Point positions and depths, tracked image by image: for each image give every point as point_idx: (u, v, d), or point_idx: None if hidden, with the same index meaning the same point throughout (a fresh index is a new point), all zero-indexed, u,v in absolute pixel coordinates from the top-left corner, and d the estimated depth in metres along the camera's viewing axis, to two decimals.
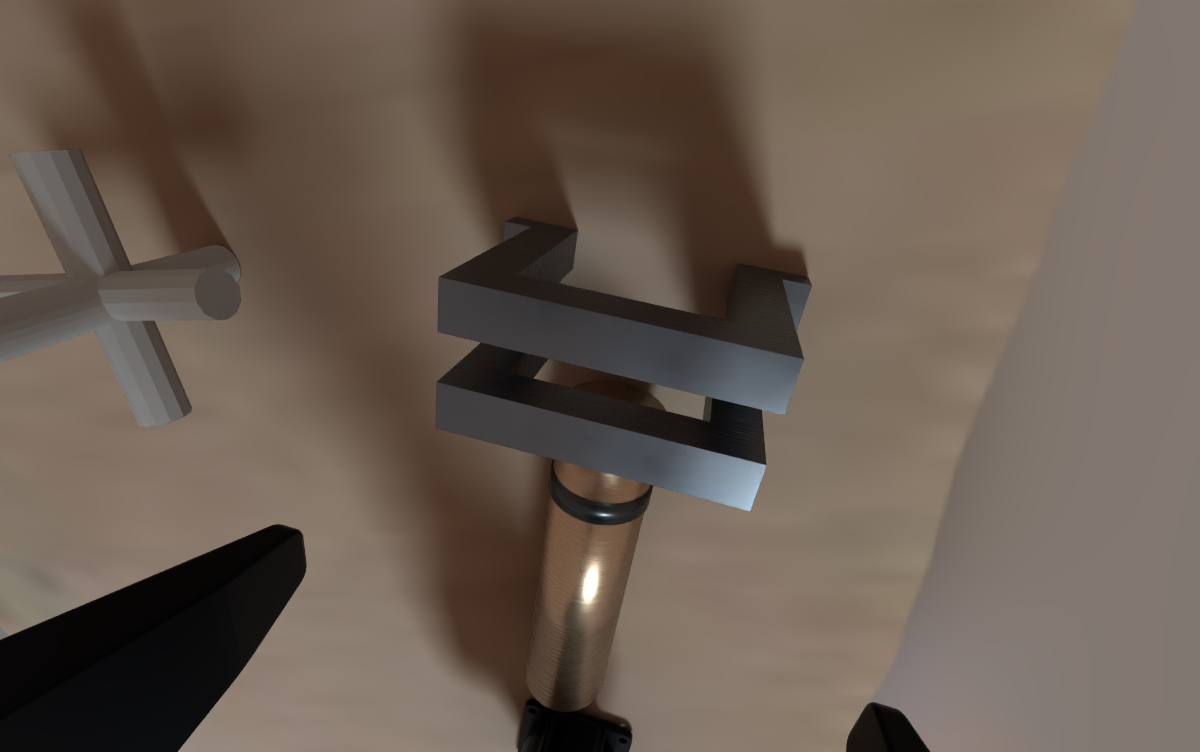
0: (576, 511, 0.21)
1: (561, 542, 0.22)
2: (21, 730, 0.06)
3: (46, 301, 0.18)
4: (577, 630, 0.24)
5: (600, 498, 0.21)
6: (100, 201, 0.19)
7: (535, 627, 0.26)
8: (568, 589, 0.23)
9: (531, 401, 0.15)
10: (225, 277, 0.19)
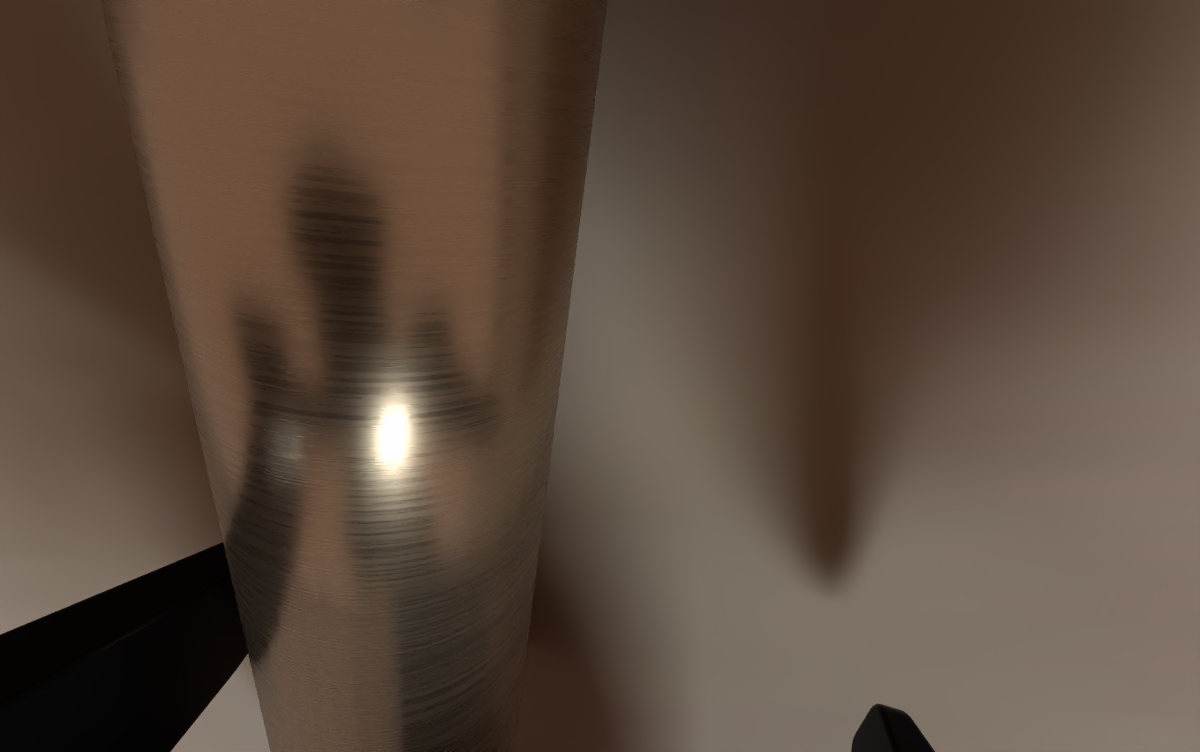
0: None
1: None
2: (14, 727, 0.06)
3: None
4: None
5: None
6: None
7: None
8: None
9: None
10: None
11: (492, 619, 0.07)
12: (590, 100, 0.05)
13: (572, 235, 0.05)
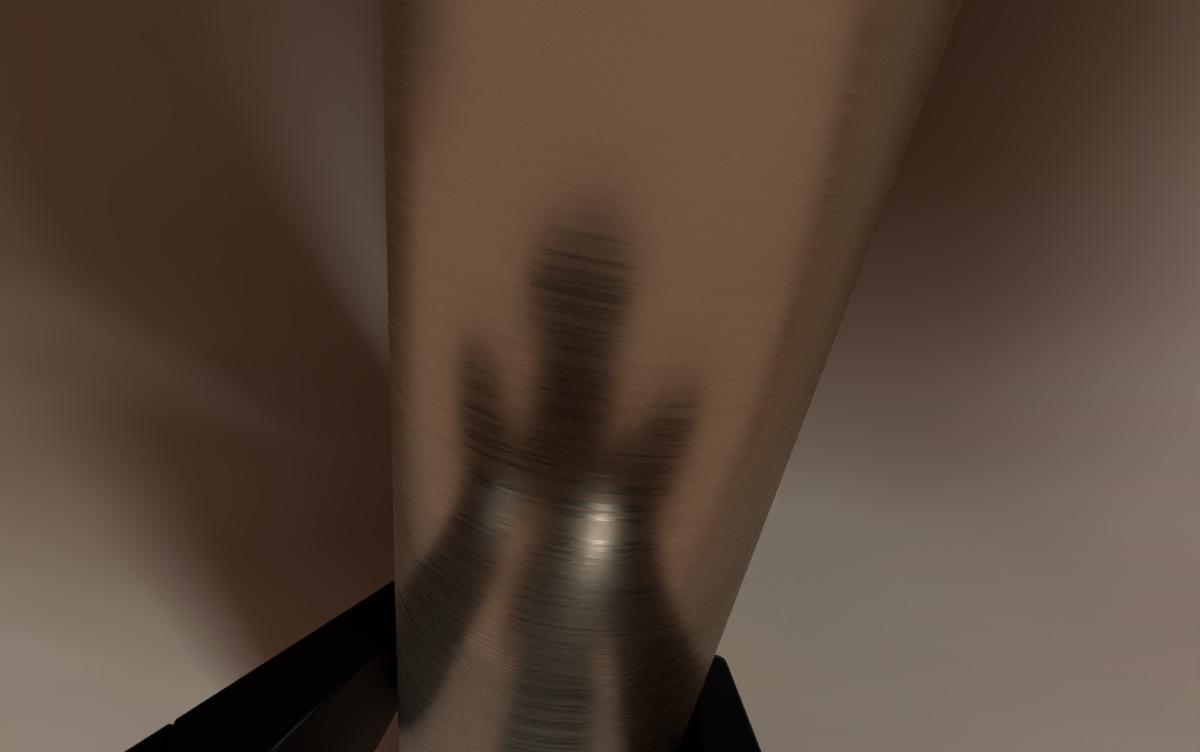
0: None
1: (442, 78, 0.03)
2: None
3: None
4: (564, 681, 0.05)
5: None
6: None
7: (398, 659, 0.06)
8: (507, 447, 0.04)
9: None
10: None
11: None
12: None
13: None
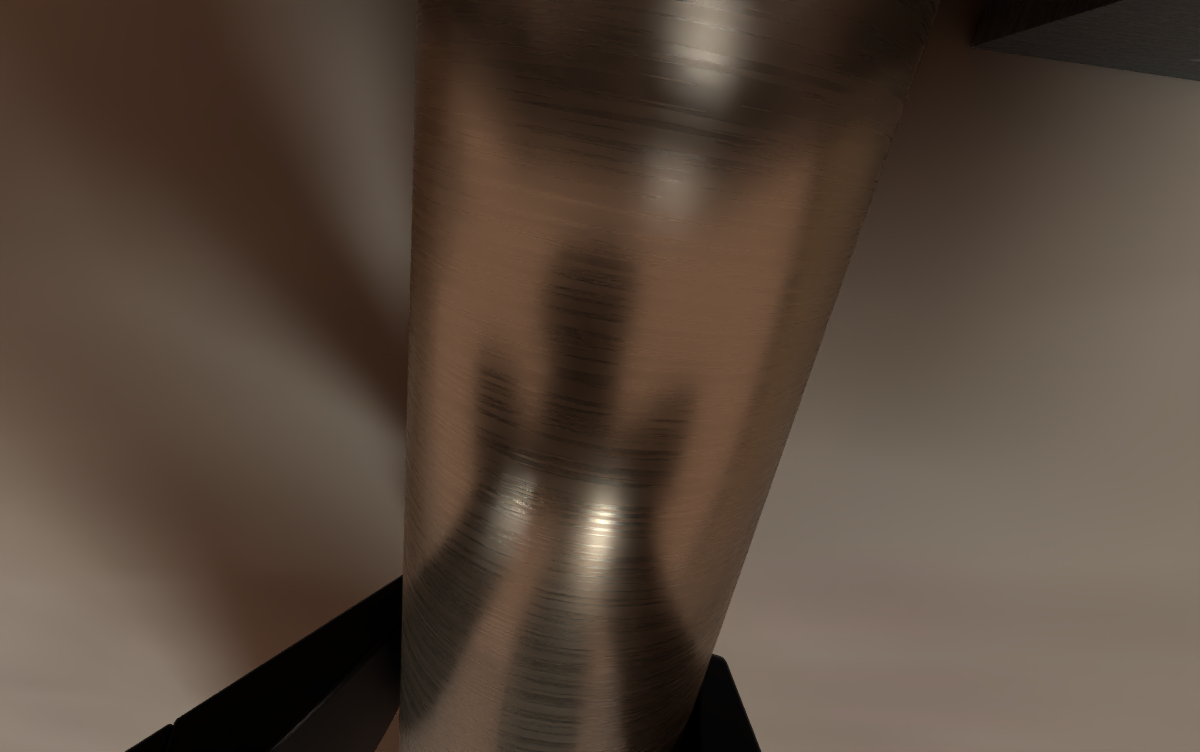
0: None
1: (476, 69, 0.03)
2: None
3: None
4: (572, 654, 0.05)
5: None
6: None
7: (403, 648, 0.07)
8: (525, 412, 0.04)
9: None
10: None
11: None
12: None
13: None
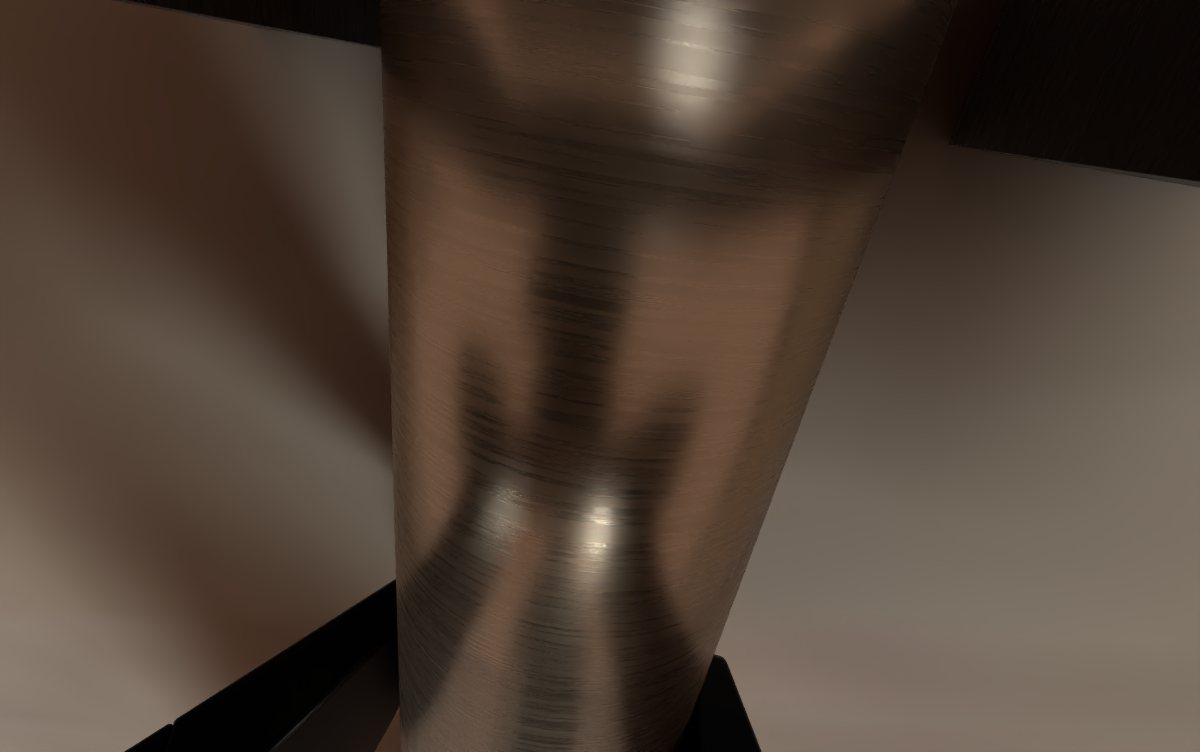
0: None
1: (439, 90, 0.03)
2: None
3: None
4: (562, 682, 0.05)
5: None
6: None
7: (399, 659, 0.07)
8: (504, 450, 0.04)
9: None
10: None
11: None
12: None
13: None
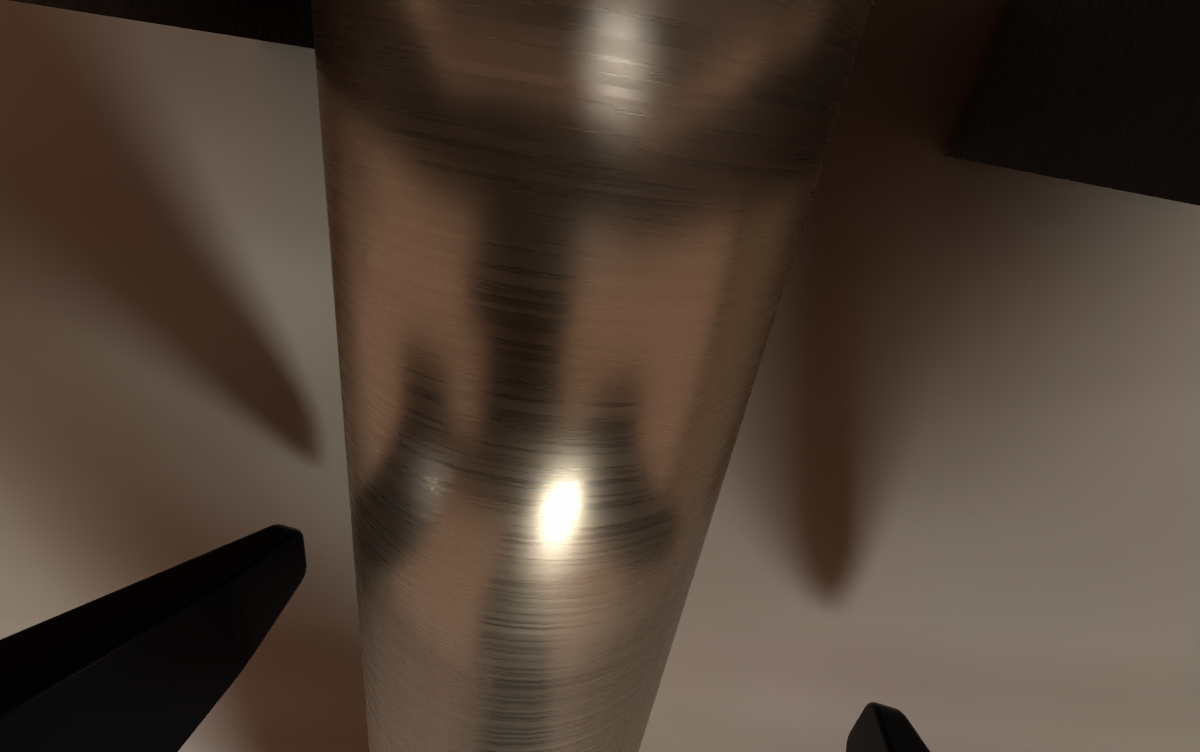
0: None
1: (327, 86, 0.04)
2: (21, 730, 0.06)
3: None
4: (456, 661, 0.05)
5: None
6: None
7: None
8: (388, 421, 0.04)
9: None
10: None
11: None
12: None
13: None
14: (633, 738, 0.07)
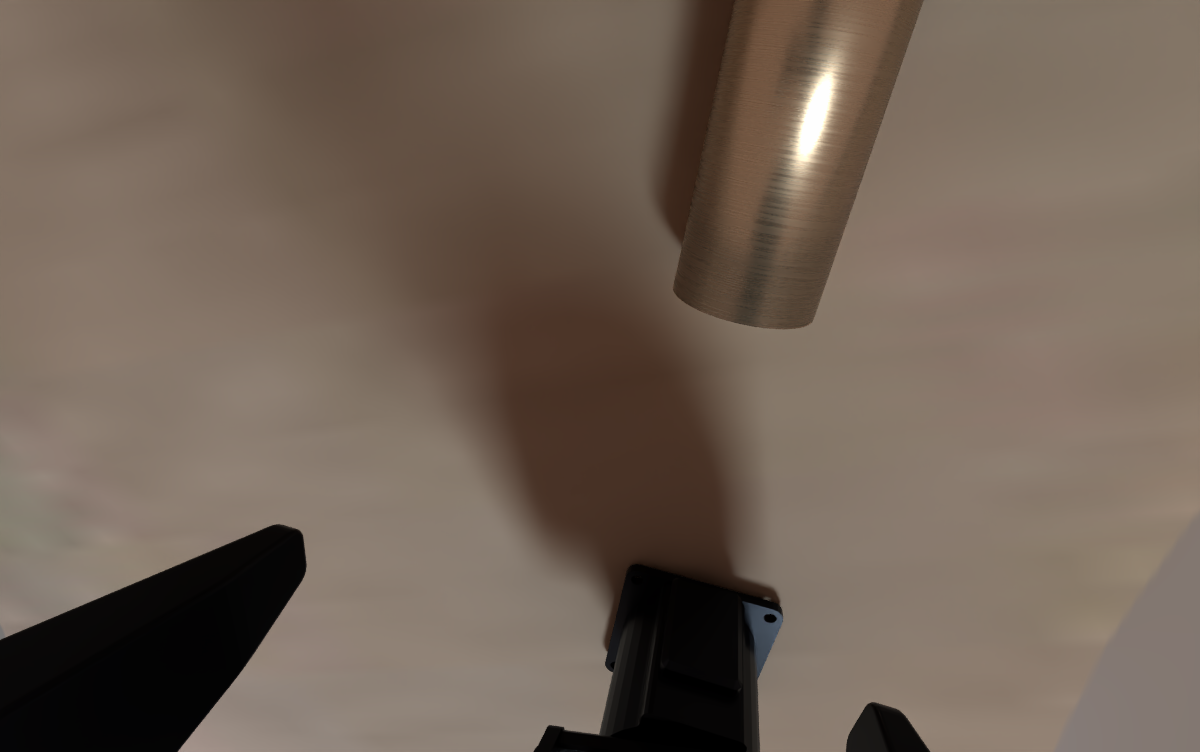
0: None
1: None
2: (21, 730, 0.06)
3: None
4: (797, 60, 0.12)
5: None
6: None
7: (708, 129, 0.14)
8: None
9: None
10: None
11: None
12: None
13: None
14: (853, 178, 0.13)
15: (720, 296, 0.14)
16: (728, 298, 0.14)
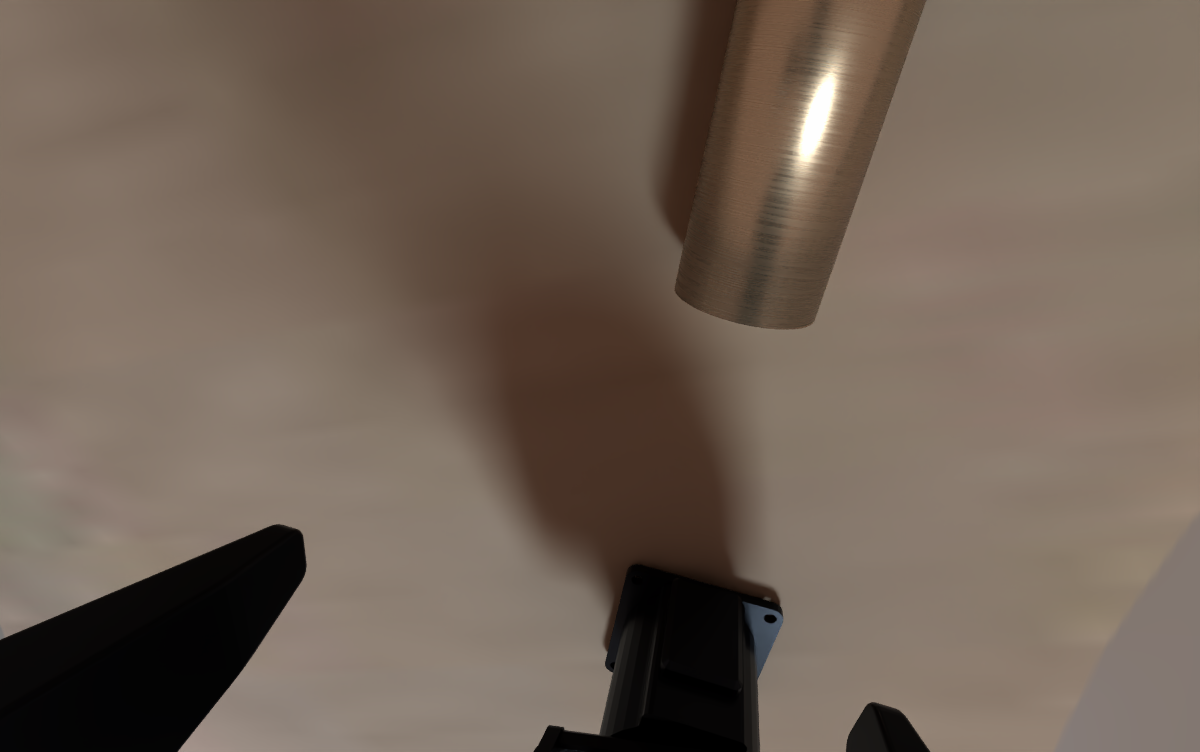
0: None
1: None
2: (21, 730, 0.06)
3: None
4: (800, 61, 0.12)
5: None
6: None
7: (710, 129, 0.14)
8: None
9: None
10: None
11: None
12: None
13: None
14: (855, 179, 0.13)
15: (722, 296, 0.14)
16: (730, 298, 0.14)
